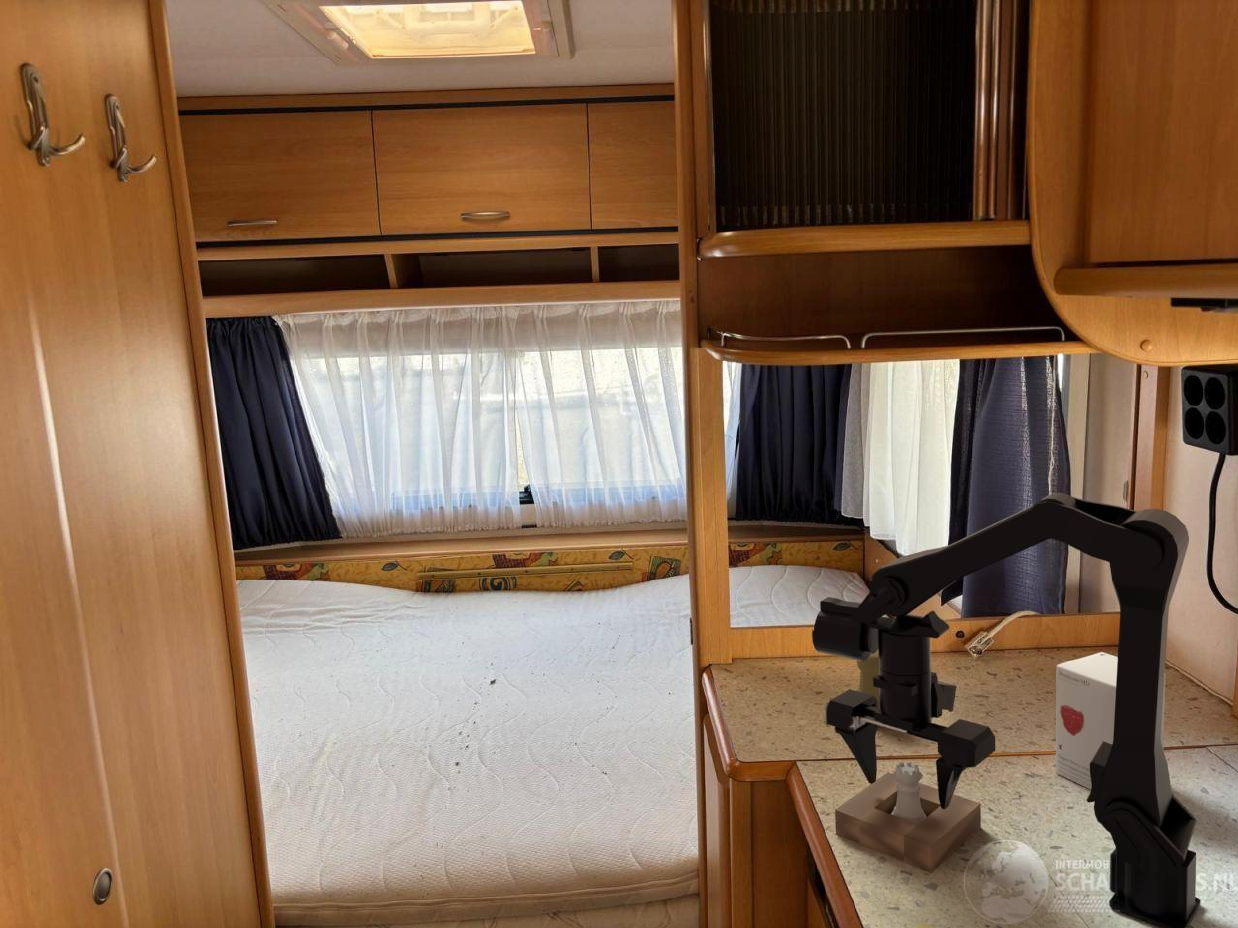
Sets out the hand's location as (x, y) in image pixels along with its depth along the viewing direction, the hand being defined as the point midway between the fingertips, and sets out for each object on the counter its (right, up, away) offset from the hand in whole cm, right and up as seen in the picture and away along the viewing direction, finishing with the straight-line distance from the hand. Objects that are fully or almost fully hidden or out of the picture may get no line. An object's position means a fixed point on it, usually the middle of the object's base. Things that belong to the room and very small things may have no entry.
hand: (907, 794), depth 103 cm
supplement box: (+29, -2, +9) cm, 30 cm away
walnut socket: (0, -4, +1) cm, 4 cm away
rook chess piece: (0, -5, +1) cm, 5 cm away
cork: (+5, 0, +31) cm, 32 cm away
